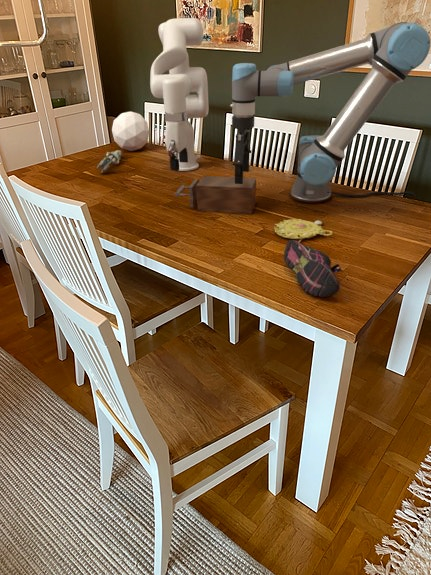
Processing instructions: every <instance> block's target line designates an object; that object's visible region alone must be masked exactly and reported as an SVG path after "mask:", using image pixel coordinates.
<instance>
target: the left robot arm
mask: <svg viewBox="0 0 431 575" xmlns="http://www.w3.org/2000/svg"><path fill="white" fill-rule="evenodd" d="M157 31H158V36H159V40H160V41H161V44H162V52H160V54H159V55H158V56H157V57H155V59H154V60H153V61H152V64H151V67H150V76H149V78H150V79H149V80H150V81H149V85H150V92H151V94H152V96H153V97H154V98H156V99H163V108H164V119H165V123H166V125H165V143H166V144H165V145H166V152H167V153H168V159H169V168H170V170H171V171H177V172H189V171H190V172H191V171H194V170H197V169H198V168H199V167H200V165H199V163H198V162H197V161H198V160H200V159H201V158H202V156H201V155H200V154H197V155H196V152H195V150H196V148H195V131H194V127H193V124H192V123H191V122H190V121H189V120H190V119H202V118H206V117H208V115H209V110H210V108H209V107H210V106H209V84H208V74H207V72H206V69H205V68H204V67H201V66H190V60H189V59H190V58H189V57H190V56H189V53H188V51H187V47H197V46H201V45H202V43H203V41H204V29H203V23H202V21H201V20H200V19H199V18H197V17H182V18H180V17H179V18H178V17H177V18H176V17H175V18H170V19H168V20H167V21H165V22H162V23H160V24H159V25H158V30H157ZM167 72H169V73H168V74H166V73H167ZM164 73H165V74H164ZM191 93H196V94H191ZM188 119H189V120H188Z"/></svg>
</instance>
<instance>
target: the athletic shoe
mask: <svg viewBox="0 0 431 575" xmlns="http://www.w3.org/2000/svg"><path fill="white" fill-rule="evenodd" d="M283 252H284V253H283V261H284V262H285V265H286V266H287V267H288V268H289V269H290V270H292V271H294V272H295V274H296V277H295V279H296V281H297V283H298V285H299V286H300V287H301V289H302V290H303V291H304V292H305V293H307V294H309V295H311V296H314V297H317V296H319V298H323V297H329V296H333V295H337V293H339V291H340V289H341V285H340V282H339V280H338V278H337V277H336V274H335V273H340V272H343V273H344V270H342V267H341V265H340V264H339V263H336V264H334V265H333V266H332V260H331V258H330V256H329V255H327V254H326V253H324V252H322V251H320V250H318V249H316V248H312V247H310V246H308V245H305V244H302V243H300V242H299V241H298V240H296V239H290V240H289V241H288V242H287V243H286V244H285V249H284V251H283Z"/></svg>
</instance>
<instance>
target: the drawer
mask: <svg viewBox="0 0 431 575" xmlns="http://www.w3.org/2000/svg"><path fill="white" fill-rule="evenodd" d="M199 181H200V180H199V178H195V179H194V180H193V181H192V183H191V184H190V185H189V186H185V185H184V184H181V186H180V187H179V188H178V189H177V190H176V191H175V193H174V197H176V198H178V197H189V207H190V208H194V207H195V206H196V204H197V186H196V185H197V184H198V183H199ZM185 189H186V190H187V189H188V193H182V192H183V191H184V190H185Z"/></svg>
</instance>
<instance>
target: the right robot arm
mask: <svg viewBox="0 0 431 575" xmlns="http://www.w3.org/2000/svg"><path fill="white" fill-rule="evenodd" d="M430 37H431V36H430V34H429V33H428V31H427V29H426V28H425V27H423V26H422V25H420V24H418V23H417V22H407V21H406V22H405V21H400V22H396V23H393V24H391V25H388V26H386V27H384V28H382V29H379V30H376V31H374V32H371V33H367V35H366V37H365V38H362V39H360V40H356V41H353V42H349V43H346V44H343V45H339V46H336V47H333V48H330V49H329V48H328V49H327V50H323V51H320V52H316V53H313V54H310V55H307V56H302V57H299V58H296V59H293V60H290V61H287V62H283V63H280V64H278V63H277V64H273V65H270V66H269V67H268V68H267V69H266V70H257V65H256V64H255V63H251V62H240V63H236V64H234V65H233V66H232V77H231V104H230V108H231V110H232V111H231V113H232V116H231V127H232V128H233V129H236V130H238V131H237V133H236V134H235V144H234V145H235V146H234V157H233V158H234V159H233V162H232V166H234V177H235V184H243V178H244V172H245V173H249V172H250V154H252V149H251V136H250V134H251V133H250V130H251V129H254V127H255V116H254V115H255V114H256V97H273V98H275V97H277V98H278V97H280V98H283V97H284V98H285V97H292V95H293V90H294V86H295V85H298V84H302V83H305V82H309V81H312V80H317V79H319V78H322V77H326V76H330V75H333V74H337V73H340V72H344V71H348V70H352V69H355V68H359V67H362V66H365V65H370V66H371V68H370V70H369V71H368V72H367V74H366V75H365V77H364V79H362V81H361V83H360V84H359V85H358V87H357V88H356V89H355V91H354V92H353V94H352V95H351V97H350V98H349V99H348V100H347V102H346V104H344V106H343V108H342V109H341V110H340V112H339V113H338V114H337V116H336V118H335V119H334V120H333V122H332V123H331V124H330V126H329V127H328V128H327V130H326V131H325V133H323V135H319V134H318V135H317V134H316V135H313V134H311V135H302V136H301V137H300V138H299V143H298V156H297V158H298V159H297V171H296V178H295V180H294V182H293V184H292V187H291V190H290V197H291V198H292V199H293V200H295V201H297V202H300V203H304V204H322V203H325V202H327V201H329V200H330V199H331V195H336V196H341V197H351V198H365V197H369V196H373V195H389V196H390V195H391V196H402V195H410V196H412V197H414V198H416V197H417V195H416V194H415V193H414V192H412V191H401V192H391V191H372V192H369V193H363V194H351V193H343V192H336V191H331V187H330V182H331V181H332V180H333V179H334V177H335V175H336V172H337V168H338V167H339V165H340V164H341V163H342V161H343V160H344V159H345V158H346V157H345V156H346V154H345V150H346V149H347V147H348V146H349V145H350V143H351V142H352V141H353V139H354V138H355V137H356V136H357V135H358V133H359V131H360V130H361V129H362V128H363V126H364V125H365V124H366V122H367V121H368V120H369V119H370V117H371V116H372V115H373V113H374V112H375V111H376V109H377V108H378V106H380V104H381V103H382V101H383V100H384V99H385V97H386V96H387V95H388V93H389V92H390V91H391V90H392V88H394V86H395V85H396V84H399V83H402V82H404V80H405V79H406V78H407V77H408V76H409V74H410V73H411V71H412V70H415V69H416V68H418V67H419V66H421V65H422V64H423V63H424V62H425V60H426V58H428V55H429V52H430V49H431V38H430Z"/></svg>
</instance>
